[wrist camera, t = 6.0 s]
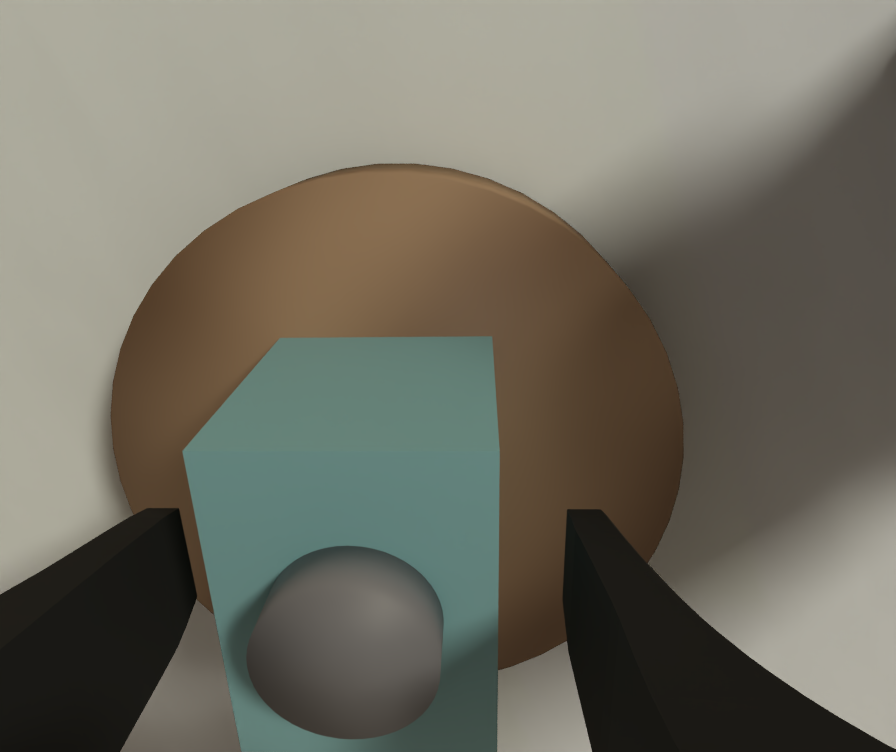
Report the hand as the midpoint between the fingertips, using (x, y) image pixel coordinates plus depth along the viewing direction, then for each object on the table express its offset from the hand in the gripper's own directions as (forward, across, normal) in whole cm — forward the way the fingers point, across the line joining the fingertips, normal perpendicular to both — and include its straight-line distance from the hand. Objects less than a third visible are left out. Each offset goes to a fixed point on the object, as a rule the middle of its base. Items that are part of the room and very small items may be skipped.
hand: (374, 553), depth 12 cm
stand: (+6, 0, 0) cm, 6 cm away
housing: (+3, 0, 0) cm, 3 cm away
